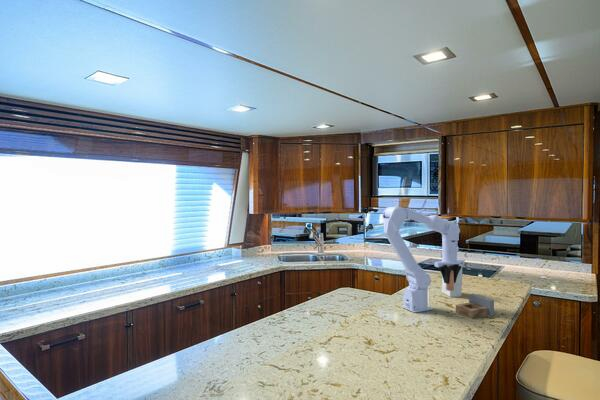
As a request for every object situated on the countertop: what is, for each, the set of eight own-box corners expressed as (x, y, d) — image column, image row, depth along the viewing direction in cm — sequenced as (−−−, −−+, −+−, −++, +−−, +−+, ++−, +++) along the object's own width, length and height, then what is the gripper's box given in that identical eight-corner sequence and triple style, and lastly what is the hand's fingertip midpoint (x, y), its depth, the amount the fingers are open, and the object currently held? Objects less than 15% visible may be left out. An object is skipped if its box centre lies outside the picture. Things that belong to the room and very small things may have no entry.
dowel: (449, 291, 149) (449, 271, 149) (444, 289, 152) (444, 270, 152) (455, 290, 150) (455, 271, 150) (449, 288, 153) (449, 269, 153)
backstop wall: (490, 316, 138) (490, 300, 138) (469, 308, 147) (469, 294, 147) (494, 315, 138) (493, 300, 138) (472, 308, 148) (472, 293, 148)
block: (472, 318, 136) (472, 310, 136) (455, 312, 143) (455, 304, 143) (487, 315, 139) (487, 308, 139) (470, 309, 146) (470, 302, 146)
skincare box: (441, 292, 172) (441, 261, 172) (453, 292, 173) (453, 261, 173) (450, 297, 164) (450, 264, 164) (463, 296, 164) (462, 264, 164)
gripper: (443, 253, 144) (443, 286, 144) (470, 250, 150) (470, 283, 150) (430, 250, 151) (431, 282, 151) (457, 248, 156) (457, 279, 156)
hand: (449, 282), depth 151 cm, fingers closed on dowel, 3 cm apart
